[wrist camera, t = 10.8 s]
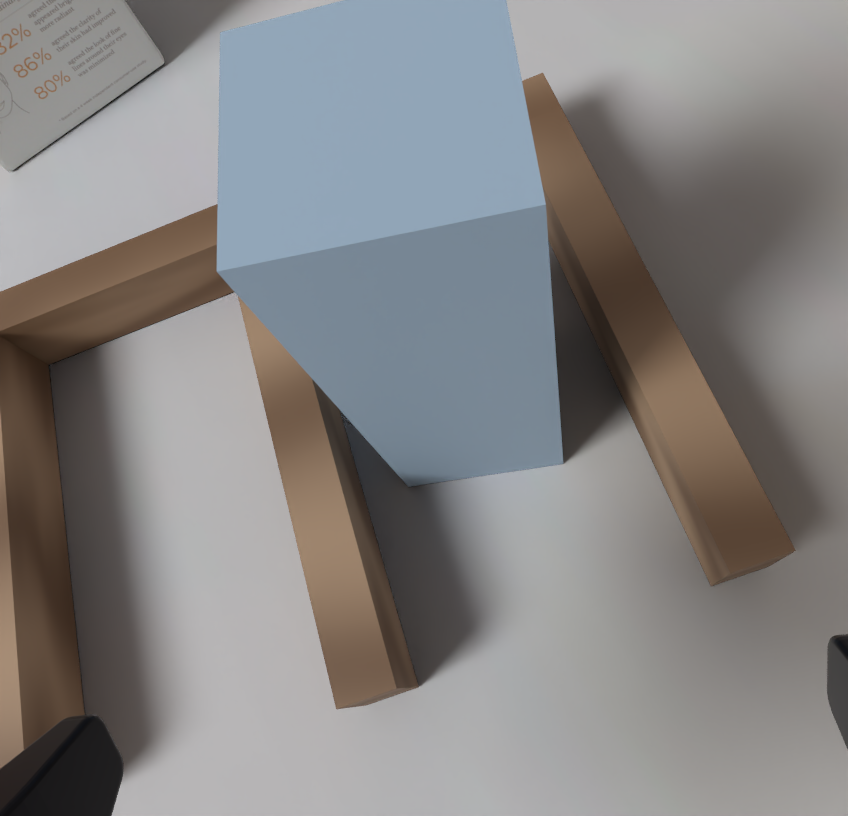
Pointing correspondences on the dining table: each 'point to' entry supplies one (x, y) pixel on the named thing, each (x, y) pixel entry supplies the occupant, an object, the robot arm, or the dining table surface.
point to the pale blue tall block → (396, 226)
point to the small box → (64, 67)
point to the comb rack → (336, 437)
